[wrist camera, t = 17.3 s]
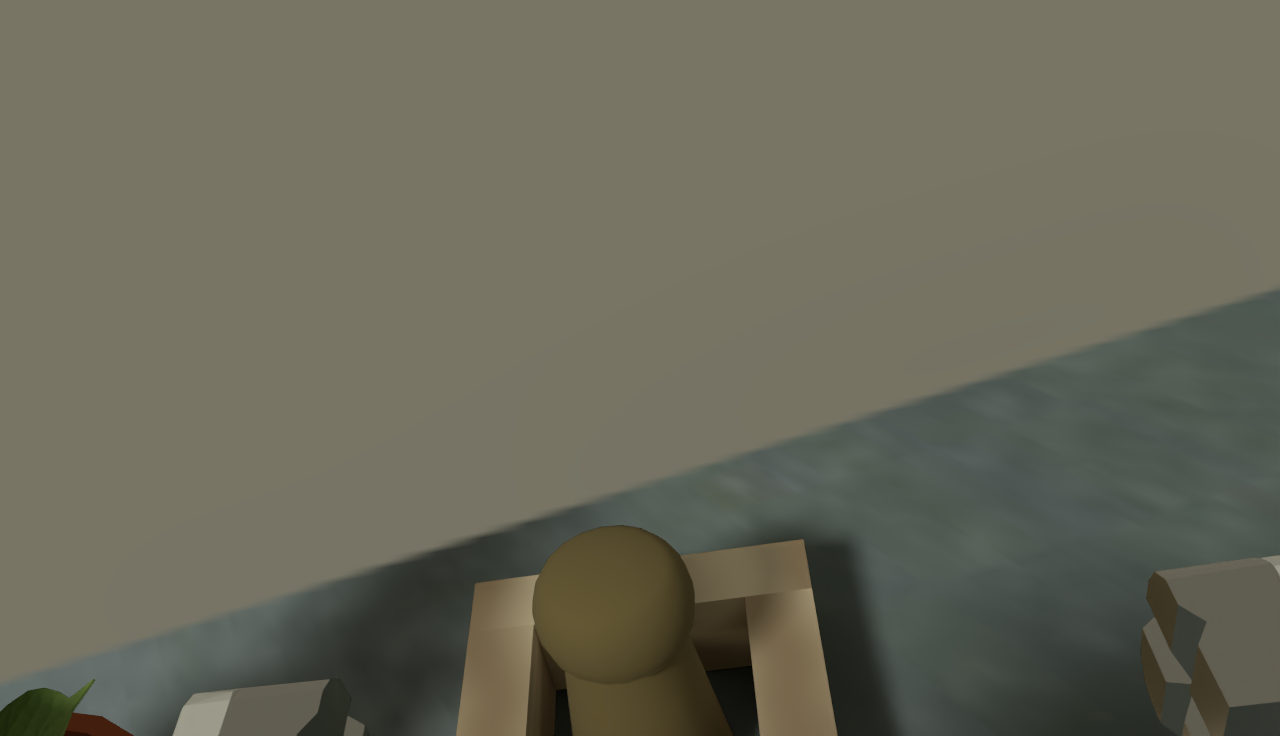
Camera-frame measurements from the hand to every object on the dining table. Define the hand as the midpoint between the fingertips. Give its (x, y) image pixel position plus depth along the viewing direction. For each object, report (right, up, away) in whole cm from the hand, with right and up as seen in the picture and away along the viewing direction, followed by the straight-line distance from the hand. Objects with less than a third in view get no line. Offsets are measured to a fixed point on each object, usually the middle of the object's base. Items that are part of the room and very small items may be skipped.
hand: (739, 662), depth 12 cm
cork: (0, -12, +32) cm, 34 cm away
